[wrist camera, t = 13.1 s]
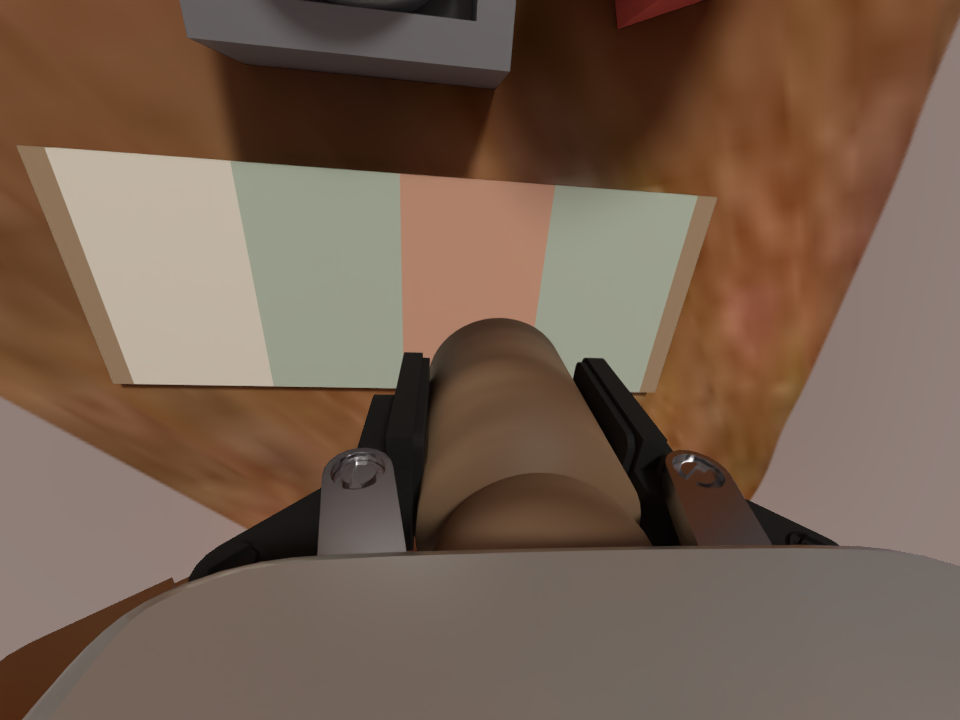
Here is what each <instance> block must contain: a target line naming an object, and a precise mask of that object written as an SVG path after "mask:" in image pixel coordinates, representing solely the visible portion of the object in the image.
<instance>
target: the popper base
mask: <svg viewBox="0 0 960 720" xmlns="http://www.w3.org/2000/svg"><path fill="white" fill-rule="evenodd" d="M180 5H181V9H182V14H183V19H184V24H185V28H186V33H187V38H189V39H192V40H194V41H196V42H198V43H200V44H202V45H205V46H207V47H209V48H211V49H213V50H215V51H218V52H220V53H222V54H224V55H226V56H228V57H231V58H233V59H235V60H237V61H239V62H241V63H244V64H248V65H258V66H268V67H278V68H288V69H298V70H308V71H318V72H328V73H338V74H348V75H358V76H368V77H378V78H388V79H398V80H408V81H418V82H428V83H438V84H448V85H458V86H468V87H478V88H488V89H496V88H497V87H498V86H499V84H500V83H501V82H502V81H503V79H504V78H505V77H506V76H507V75H508V73H509V72H510V65H511V54H512V42H513V31H514V19H515V8H516V0H428V1H427V2H426V3H425V4H423V5H422V6H421V7H419V8H418V9H417V10H415V11H413V12H411V13H402V12H394V11H385V10H377V9H368V8H360V7H351V6H343V5H335V4H326V3H322V2H321V1H319V0H180Z"/></svg>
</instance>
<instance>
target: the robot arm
mask: <svg viewBox="0 0 960 720" xmlns="http://www.w3.org/2000/svg"><path fill="white" fill-rule="evenodd" d="M573 381H574V382H575V384H576V386H577V388H578V389H579V391H580V393H581V395H582V396H583V398H584V400H585V402H586V403H587V405H588V407H589V409H590V410H591V412H592V414H593V416H594V418H595V419H596V421H597V423H598V425H599V426H600V428H601V430H602V432H603V433H604V435H605V437H606V439H607V440H608V442H609V444H610V446H611V447H612V449H613V451H614V453H615V454H616V456H617V458H618V460H619V462H620V463H621V465H622V467H623V469H624V470H625V472H626V474H627V476H628V477H629V479H630V481H631V483H632V484H633V486H634V488H635V490H636V492H637V495H638V498H639V501H640V508H641V518H640V525H639V526H640V528H641V529H642V530H643V531H644V533H645V534H646V536H647V538H648V539H649V541H650V542H651V544H652V546H642V547H585V548H534V549H491V550H450V551H409V552H407V551H408V550H413V545H414V536H415V535H416V523H417V510H418V498H419V487H420V482H421V479H422V475H423V465H424V451H425V438H426V424H427V411H428V397H429V384H430V358H423V353H416V352H404V354H403V359H402V364H401V368H400V373H399V377H398V382H397V387H396V391H395V395H374V396H373V398H372V402H371V405H370V408H369V412H368V415H367V418H366V421H365V425H364V428H363V431H362V434H361V438H360V441H359V444H358V447H357V448H356V449H352V450H347V451H345V452H343V453H341V454H338V455H337V456H335V457H334V458H333V459H331V460H330V461H329V462H328V464H327V465H326V466H325V468H324V471H323V474H322V488H320V489H318V490H317V491H315V492H313V493H311V494H310V495H308V496H306V497H304V498H303V499H301V500H299V501H297V502H296V503H294V504H292V505H290V506H288V507H287V508H285V509H283V510H281V511H280V512H278V513H276V514H274V515H273V516H271V517H269V518H267V519H266V520H264V521H262V522H260V523H259V524H257V525H255V526H253V527H251V528H250V529H248V530H246V531H244V532H243V533H241V534H239V535H237V536H236V537H234V538H232V539H230V540H229V541H227V542H225V543H223V544H222V545H220V546H218V547H217V548H215V549H214V550H213V551H211V552H210V553H208V554H207V555H206V556H205V557H204V558H203V559H202V560H201V561H200V562H199V563H198V564H197V565H196V567H195V568H194V570H193V571H192V573H191V575H190V576H189V577H188V578H185V579H183V580H181V581H179V582H177V583H174V581H173V578H170V579H168V580H166V581H163V582H161V583H159V584H157V585H154V586H152V587H150V588H148V589H146V590H144V591H141V592H139V593H137V594H135V595H133V596H131V597H128V598H127V599H124V600H122V601H120V602H118V603H115V604H114V605H111V606H109V607H107V608H105V609H102V610H100V611H98V612H96V613H94V614H92V615H89V616H87V617H85V618H83V619H81V620H78V621H76V622H74V623H72V624H70V625H68V626H65V627H64V628H61V629H59V630H57V631H54V632H52V633H50V634H48V635H46V636H44V637H42V638H40V639H37V640H35V641H33V642H31V643H29V644H27V645H25V646H24V647H22V648H20V649H18V650H16V651H15V652H13V653H11V654H9V655H8V656H6V657H5V658H4V659H3V660H1V661H0V720H960V566H957V565H954V564H951V563H947V562H943V561H940V560H936V559H933V558H929V557H926V556H921V555H915V554H911V553H905V552H900V551H894V550H889V549H880V548H871V547H861V546H839V545H838V544H837V543H835V542H834V541H832V540H830V539H828V538H826V537H824V536H822V535H820V534H818V533H816V532H814V531H812V530H810V529H807V528H805V527H803V526H801V525H799V524H797V523H795V522H793V521H791V520H789V519H787V518H784V517H782V516H780V515H778V514H776V513H774V512H772V511H770V510H768V509H766V508H764V507H761V506H759V505H757V504H755V503H753V502H751V501H749V500H747V499H745V498H744V496H743V495H742V493H741V491H740V490H739V488H738V486H737V485H736V483H735V481H734V480H733V478H732V476H731V475H730V474H729V472H728V471H727V470H726V469H725V468H724V467H723V466H722V465H721V464H719V463H718V462H717V461H715V460H713V459H711V458H710V457H708V456H705V455H703V454H700V453H697V452H693V451H689V450H677V451H672V449H671V448H670V447H669V445H668V444H667V443H666V442H667V439H666V438H665V437H664V435H663V434H662V433H661V431H660V430H659V429H658V428H657V426H656V425H655V424H654V422H653V421H652V420H651V419H650V417H649V416H648V415H647V413H646V412H645V411H644V410H643V408H642V407H641V406H640V404H639V403H638V402H637V401H636V399H635V398H634V397H633V395H632V394H631V393H630V392H629V390H628V389H627V388H626V386H625V385H624V384H623V383H622V381H621V380H620V379H619V377H618V376H617V375H616V374H615V372H614V371H613V370H612V368H611V367H610V366H609V365H608V363H607V362H606V361H605V359H603V358H584V359H583V360H582V362H578V363H577V364H576V367H575V371H574V376H573Z"/></svg>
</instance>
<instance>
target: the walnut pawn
mask: <svg viewBox="0 0 960 720" xmlns="http://www.w3.org/2000/svg"><path fill="white" fill-rule="evenodd" d="M640 518H641V508H640V501H639V498H638V495H637V492H636V490H635V488H634V486H633V484H632V483H631V481H630V479H629V477H628V476H627V474H626V472H625V470H624V469H623V467H622V465H621V463H620V462H619V460H618V458H617V456H616V454H615V453H614V451H613V449H612V447H611V446H610V444H609V442H608V440H607V439H606V437H605V435H604V433H603V432H602V430H601V428H600V426H599V425H598V423H597V421H596V419H595V418H594V416H593V414H592V412H591V410H590V409H589V407H588V405H587V403H586V402H585V400H584V398H583V396H582V395H581V393H580V391H579V389H578V388H577V386H576V384H575V382H574V381H573V379H572V377H571V375H570V373H569V372H568V370H567V368H566V366H565V365H564V363H563V361H562V359H561V358H560V356H559V354H558V352H557V351H556V349H555V347H554V345H553V344H552V343H551V341H550V340H549V339H548V338H547V337H546V336H545V335H544V334H543V333H542V332H541V331H539V330H538V329H537V328H535V327H533V326H531V325H529V324H527V323H524V322H522V321H518V320H514V319H508V318H490V319H483V320H479V321H476V322H473V323H470V324H468V325H465V326H464V327H462V328H460V329H458V330H457V331H455V332H454V333H453V334H451V335H450V336H449V337H448V338H447V339H446V340H445V341H444V342H443V343H442V344H441V346H440V347H439V348H438V350H437V351H436V353H435V355H434V357H433V359H432V362H431V365H430V384H429V397H428V411H427V424H426V438H425V451H424V465H423V475H422V479H421V482H420V487H419V498H418V510H417V523H416V535H415V538H416V547H417V551H450V550H491V549H534V548H585V547H642V546H652V544H651V542H650V541H649V539H648V538H647V536H646V534H645V533H644V531H643V530H642V529H641V528H640V526H639V525H640Z"/></svg>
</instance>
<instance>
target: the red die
mask: <svg viewBox="0 0 960 720" xmlns="http://www.w3.org/2000/svg"><path fill="white" fill-rule="evenodd" d="M701 1H704V0H615V8H616V19H617V29H620V28H623V27H626V26H629V25H632V24H635V23H638V22H641V21H644V20H647V19H650V18H653V17H656V16H659V15H662V14H665V13H668V12H671V11H674V10H677V9H680V8H683V7H686V6H689V5H692V4H695V3H698V2H701Z"/></svg>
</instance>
